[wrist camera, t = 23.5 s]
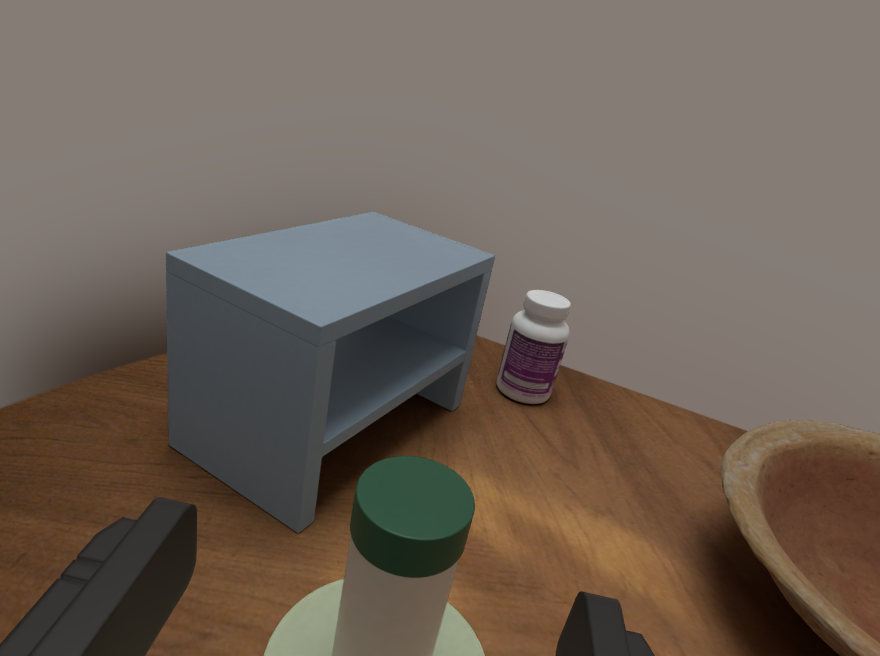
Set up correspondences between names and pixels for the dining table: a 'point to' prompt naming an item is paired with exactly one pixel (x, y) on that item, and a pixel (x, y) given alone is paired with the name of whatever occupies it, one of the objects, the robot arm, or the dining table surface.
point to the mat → (315, 618)
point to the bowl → (814, 522)
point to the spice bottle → (401, 557)
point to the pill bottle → (534, 348)
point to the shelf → (312, 346)
